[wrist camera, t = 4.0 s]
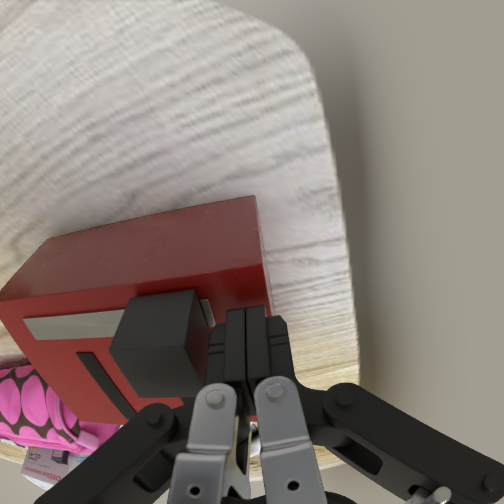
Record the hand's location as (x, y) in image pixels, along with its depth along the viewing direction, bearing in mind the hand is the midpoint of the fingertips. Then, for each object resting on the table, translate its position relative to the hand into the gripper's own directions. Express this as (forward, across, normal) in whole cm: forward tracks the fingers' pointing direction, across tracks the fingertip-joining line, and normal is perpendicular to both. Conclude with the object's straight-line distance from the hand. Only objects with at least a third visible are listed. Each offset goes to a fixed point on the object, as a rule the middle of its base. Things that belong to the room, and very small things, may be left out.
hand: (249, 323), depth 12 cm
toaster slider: (+1, +3, 0) cm, 4 cm away
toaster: (+9, +7, +4) cm, 12 cm away
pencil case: (+9, +26, +14) cm, 31 cm away
